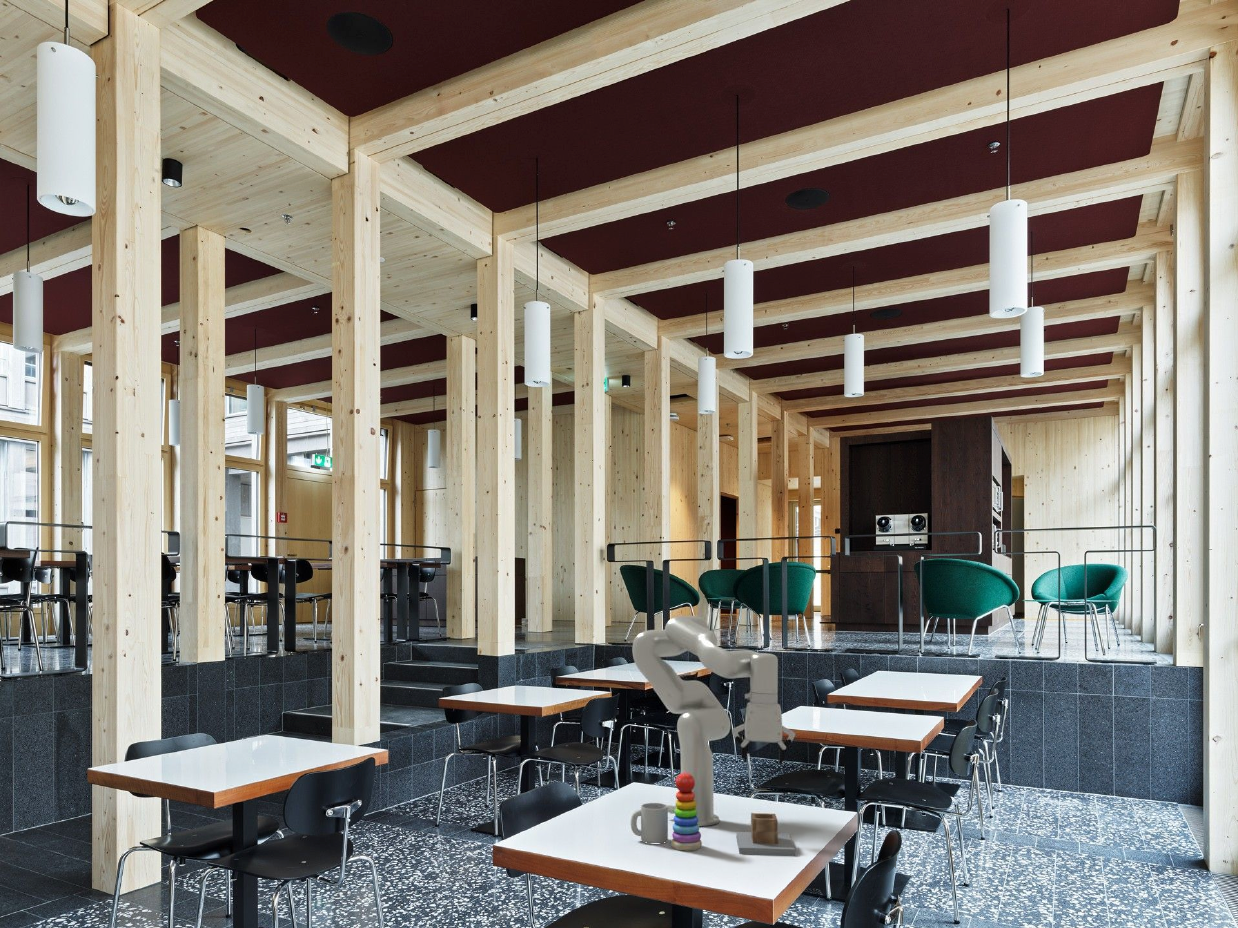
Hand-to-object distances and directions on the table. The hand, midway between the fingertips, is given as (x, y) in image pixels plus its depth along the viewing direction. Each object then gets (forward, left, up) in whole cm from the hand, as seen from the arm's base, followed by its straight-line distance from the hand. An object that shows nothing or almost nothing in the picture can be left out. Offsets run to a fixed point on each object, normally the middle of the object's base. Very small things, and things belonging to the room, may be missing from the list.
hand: (763, 762), depth 238 cm
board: (-1, -8, -20) cm, 21 cm away
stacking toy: (-21, -11, -20) cm, 31 cm away
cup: (-31, -6, -20) cm, 37 cm away
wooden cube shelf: (-1, -8, -18) cm, 20 cm away
